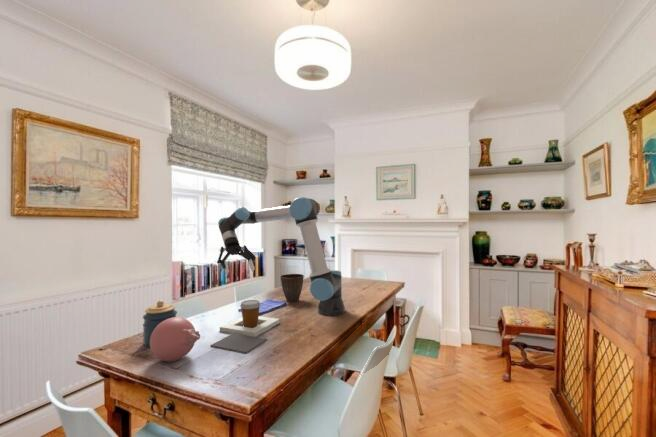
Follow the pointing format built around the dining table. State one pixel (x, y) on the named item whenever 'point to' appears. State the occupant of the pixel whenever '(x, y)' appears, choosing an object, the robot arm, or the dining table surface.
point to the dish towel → (269, 306)
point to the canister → (156, 318)
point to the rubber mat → (239, 343)
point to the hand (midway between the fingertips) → (241, 271)
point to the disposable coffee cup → (250, 313)
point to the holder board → (237, 329)
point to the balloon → (173, 339)
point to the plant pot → (292, 286)
